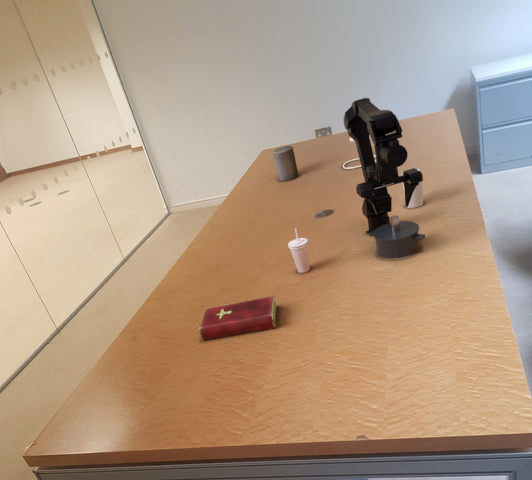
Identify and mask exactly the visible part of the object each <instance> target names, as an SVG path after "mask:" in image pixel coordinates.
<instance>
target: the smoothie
mask: <svg viewBox="0 0 532 480" xmlns="http://www.w3.org/2000/svg"><path fill="white" fill-rule="evenodd" d="M294 232H295V238H294V239H292V240H290V241H289V242H288V243H287V247H288V249H289V250H290V253H291V255H292V258H293V261H294V263H295V266H296V269H297V272H298V273H300V274H304V273H307V272H309V271H310V270H311V267H310V256H309V254H310V253H309V239H307V238H305V237H299V234H298V229H297V227H294Z"/></svg>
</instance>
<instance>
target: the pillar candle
mask: <svg viewBox="0 0 532 480" xmlns="http://www.w3.org/2000/svg"><path fill="white" fill-rule="evenodd" d="M272 154H273V159H274V163H275V167H276V172H277V175H278V180H279V181H280V182H288V181H293V180H294V179H297V178H299V175H300V174H299V171H298V166H297V162H296V156H295V150H294V146H292V145H285V146H281V147H278V148H275V149H274V150H273V151H272Z"/></svg>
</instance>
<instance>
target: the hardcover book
mask: <svg viewBox="0 0 532 480" xmlns="http://www.w3.org/2000/svg"><path fill="white" fill-rule="evenodd" d="M278 312H279V306H278V305H277V304H276V295H275V294H274V295H268V296H263V297H257V298H252V299H247V300H242V301H235V302H231V303H225V304H220V305H216V306H215V305H214V306H210V307H204V309H203V313H202V316H201V319H200V323H199V326H198V332H199V336H200V338H201V340H202V341H208V340H214V339H220V338H224V337H231V336H236V335H244V334H247V333H248V334H249V333H254V332H260V331H264V330H265V331H266V330H269V329H270V330H271V329H275V328H277V325H278Z"/></svg>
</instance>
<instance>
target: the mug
mask: <svg viewBox="0 0 532 480" xmlns="http://www.w3.org/2000/svg"><path fill="white" fill-rule="evenodd" d="M416 169H417V170H419V171H420V172H422V170H421V169H420V168H416ZM403 172H404V171H402V172H401V173H400V174H401V176H402V175H403ZM418 183H419V185H417V186H416V188H415V190H414V192H413V194H412V196H411V200H410V203H409V205H408V207H406V208H408V209H415V208H419V207H421V206H423V205H424V189H423V181H422V182H418ZM401 184H402V189H403V197H404V198H403V199H405V188H404V184H403V182H402V183H401ZM404 204H405V203H404ZM404 206H406V204H405V205H404Z"/></svg>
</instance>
